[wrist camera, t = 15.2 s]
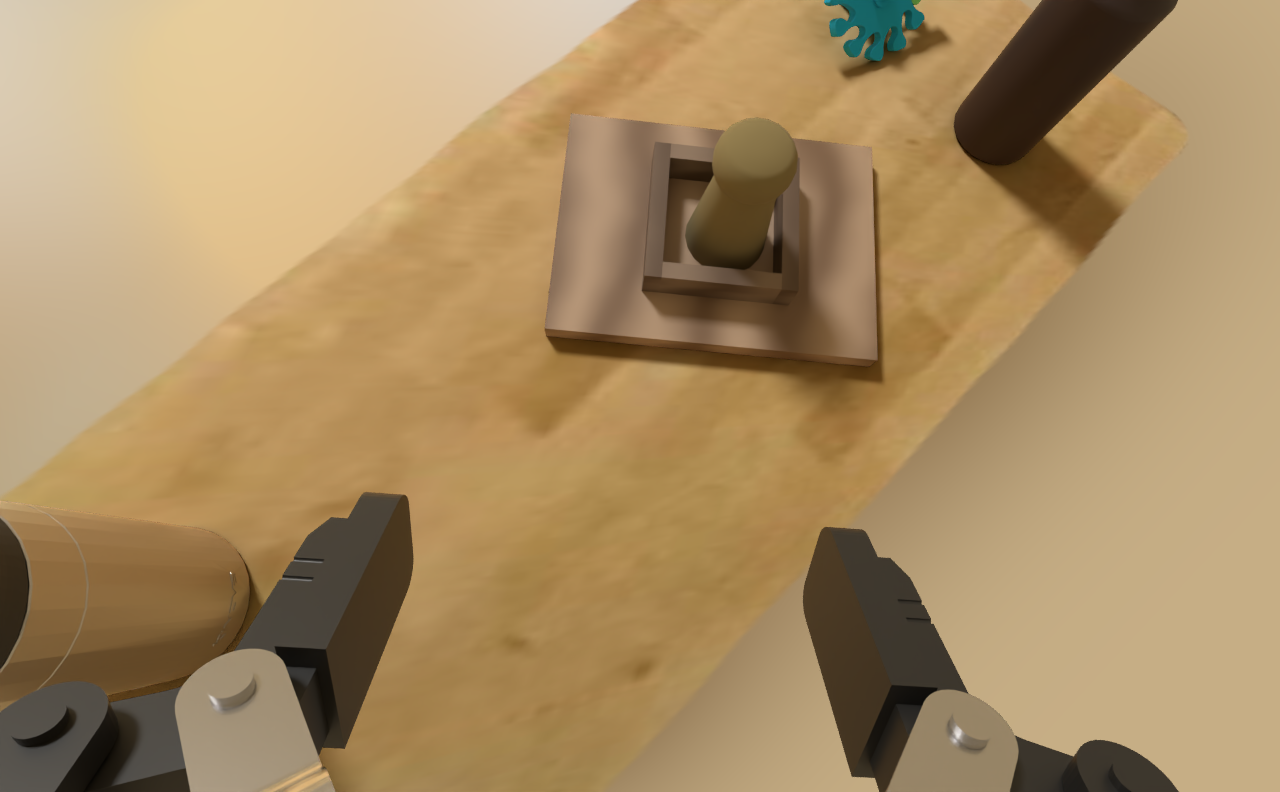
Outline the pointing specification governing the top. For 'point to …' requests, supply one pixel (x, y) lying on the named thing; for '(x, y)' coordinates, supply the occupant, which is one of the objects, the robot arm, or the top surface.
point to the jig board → (704, 295)
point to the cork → (741, 194)
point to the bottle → (1050, 72)
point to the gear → (875, 24)
